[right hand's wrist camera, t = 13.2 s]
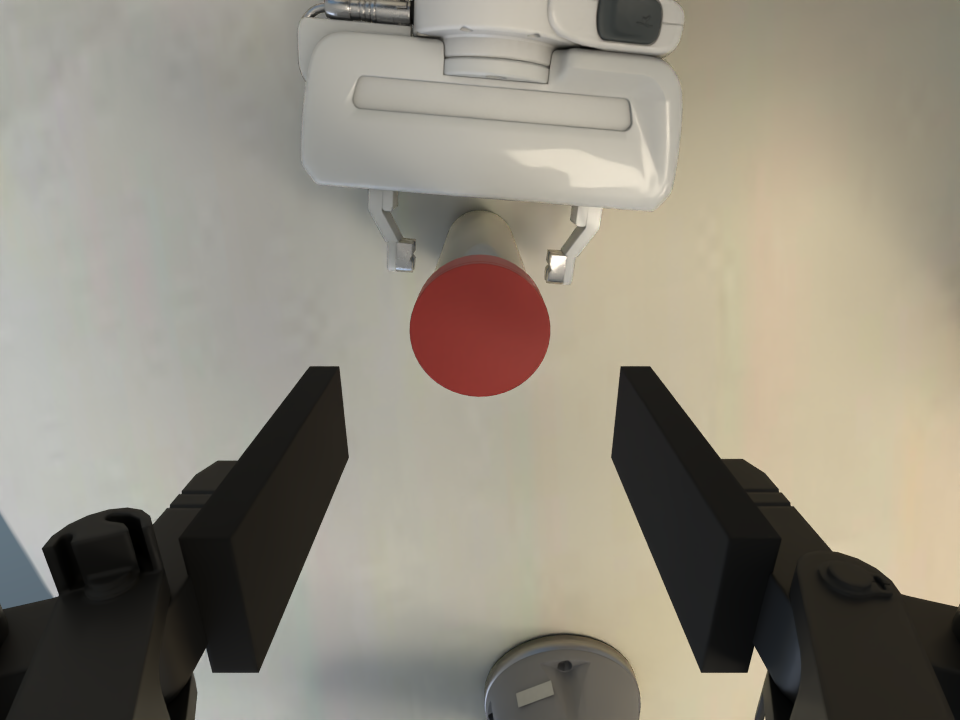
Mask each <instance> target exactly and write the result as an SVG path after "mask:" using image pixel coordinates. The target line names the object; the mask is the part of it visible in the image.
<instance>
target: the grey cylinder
mask: <svg viewBox="0 0 960 720" xmlns="http://www.w3.org/2000/svg"><path fill="white" fill-rule="evenodd" d="M469 255H491V256H496V257H500V258H503V259H505V260H508V261H510V262H512V263H514V264H515V265H517V266H518V267H520V268H521V269H522V270H524V271H525V268H524V265H523V262H522V260H521V257H520V254H519V251H518V248H517V246H516V243H515V240H514V237H513V234H512V232H511V230H510V228H509V226H508V224H507V223H506V222H505V221H504V220H503V219H502V218H501V217H500V216H498V215H497V214H495V213H492V212H490V211H486V210H475V211H470V212H467V213H465V214H463V215H462V216H460V217H459V218H458V219H457V220H456V221H455V222H454V223H453V224H452V226H451V228H450V230H449V232H448V235H447V237H446V240H445V243H444V246H443V249H442V251H441V254H440V257H439V260H438V262H437V265H436V268H435V271H437V270H438V269H439V268H440V267H442V266H443V265H445V264H446V263H448V262H450V261H452V260H455V259H457V258H461V257H464V256H469ZM435 271H434V272H435ZM525 272H526V271H525Z"/></svg>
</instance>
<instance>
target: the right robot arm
mask: <svg viewBox="0 0 960 720" xmlns="http://www.w3.org/2000/svg"><path fill="white" fill-rule="evenodd" d="M348 458H349V455H348V446H347V436H346V427H345V417H344V407H343V398H342V388H341V379H340V369H339V366H310V367H309V368H308V370H307V371H306V372H305V373H304V375H303V376H302V377H301V379H300V380H299V381H298V383H297V384H296V385H295V387H294V388H293V389H292V390H291V392H290V393H289V394H288V396H287V397H286V398H285V400H284V401H283V402H282V404H281V405H280V406H279V407H278V409H277V410H276V411H275V413H274V414H273V415H272V417H271V418H270V419H269V421H268V422H267V423H266V424H265V426H264V427H263V428H262V430H261V431H260V432H259V434H258V435H257V436H256V438H255V439H254V440H253V441H252V443H251V444H250V445H249V447H248V448H247V449H246V451H245V452H244V453H243V455H242V456H241V457H240V458H239V460H238V461H217V462H215V463H213V464H212V465H210V466H209V467H207V468H206V469H204V470H202V471H201V472H199V473H198V474H196V475H195V476H194V477H193V479H192V480H191V481H190V482H189V483H188V484H187V486H186V487H185V488H184V489H183V490H182V494H179V495H178V496H177V497H176V498H175V500H174V501H173V502H172V503H171V504H170V508H167V509H166V510H165V511H164V512H163V514H162V515H161V516H160V517H159V518H158V519H157V520H156V522H155V523H154V524H153V525H152V521H151V517H150V516H149V515H148V514H147V513H145V512H144V511H142V510H139V509H133V508H119V509H109V510H105V511H102V512H98V513H95V514H91V515H88V516H86V517H84V518H82V519H79V520H77V521H75V522H73V523H71V524H69V525H67V526H66V527H64V528H63V529H62V530H60V531H59V532H57V533H56V534H54V535H53V536H52V537H51V538H50V539H49V540H48V542H47V543H46V544H45V545H44V547H43V548H42V550H43V553H44V556H45V558H46V561H47V564H48V566H49V569H50V572H51V574H52V577H53V580H54V582H55V585H56V588H57V590H58V593H59V596H58V597H55V598H52V599H47V600H43V601H38V602H34V603H29V604H25V605H21V606H16V607H12V608H7V609H2V607H1V605H0V720H195V711H196V701H197V688H196V682H195V678H194V674H193V671H194V669H195V667H196V665H197V663H198V662H199V660H200V658H201V656H202V654H203V652H204V651H205V649H207V653H208V657H209V661H210V665H211V669H212V673H259V671H260V668H261V666H262V664H263V661H264V659H265V656H266V654H267V652H268V649H269V647H270V644H271V642H272V640H273V637H274V635H275V632H276V630H277V628H278V625H279V623H280V621H281V618H282V616H283V613H284V611H285V609H286V606H287V604H288V601H289V599H290V597H291V594H292V592H293V589H294V587H295V585H296V582H297V580H298V578H299V575H300V573H301V570H302V568H303V566H304V563H305V561H306V558H307V556H308V554H309V551H310V549H311V546H312V544H313V542H314V539H315V537H316V535H317V532H318V530H319V527H320V525H321V523H322V520H323V518H324V515H325V513H326V511H327V508H328V506H329V503H330V501H331V499H332V496H333V494H334V492H335V489H336V487H337V484H338V482H339V480H340V477H341V475H342V472H343V470H344V468H345V465H346V463H347V460H348ZM611 458H612V460H613V463H614V465H615V468H616V470H617V472H618V475H619V477H620V480H621V482H622V484H623V487H624V489H625V492H626V494H627V496H628V499H629V501H630V503H631V506H632V508H633V511H634V513H635V515H636V518H637V520H638V523H639V525H640V527H641V530H642V532H643V535H644V537H645V539H646V542H647V544H648V546H649V549H650V551H651V554H652V556H653V558H654V561H655V563H656V566H657V568H658V570H659V573H660V575H661V578H662V580H663V582H664V585H665V587H666V589H667V592H668V594H669V597H670V599H671V601H672V604H673V606H674V609H675V611H676V613H677V616H678V618H679V621H680V623H681V625H682V628H683V630H684V632H685V635H686V637H687V640H688V642H689V644H690V647H691V649H692V652H693V654H694V656H695V659H696V661H697V664H698V666H699V668H700V671H701V673H748V669H749V665H750V661H751V657H752V653H753V649H754V646H755V648H756V650H757V651H758V653H759V655H760V657H761V659H762V661H763V662H764V664H765V666H766V668H767V674H766V678H765V681H764V685H763V689H762V692H761V696H760V700H759V703H758V707H757V711H756V715H755V720H764V717H765V719H766V720H960V605H959V607H955V606H950V605H946V604H941V603H937V602H932V601H928V600H923V599H919V598H914V597H910V596H906V595H903V594H901V593H900V592H899V591H898V589H897V588H896V586H895V585H894V583H893V582H892V581H891V580H890V579H889V578H888V577H886V576H885V575H884V574H883V573H881V572H880V571H879V570H878V569H876V568H875V567H873V566H871V565H869V564H867V563H865V562H863V561H861V560H859V559H857V558H854V557H851V556H848V555H845V554H842V553H839V552H833V551H832V550H831V549H830V548H829V547H828V546H827V545H826V543H825V542H824V541H823V540H822V539H821V538H820V536H819V535H818V534H817V533H816V532H815V531H814V530H813V528H812V527H811V526H810V525H809V524H808V523H807V521H806V520H805V519H804V518H803V517H802V516H801V514H800V513H799V512H798V511H797V510H796V509H795V508H794V506H791V505H790V502H789V501H788V499H787V498H786V497H785V496H784V495H783V494H782V493H779V489H778V488H777V487H776V486H775V484H774V483H773V482H772V481H771V480H770V479H769V477H768V476H767V475H766V474H765V473H764V472H762V471H761V470H759V469H758V468H756V467H754V466H753V465H751V464H750V463H748V462H747V461H745V460H743V459H721V458H720V457H719V456H718V455H717V453H716V452H715V451H714V449H713V448H712V447H711V445H710V444H709V443H708V441H707V440H706V439H705V438H704V436H703V435H702V434H701V432H700V431H699V430H698V428H697V427H696V426H695V424H694V423H693V422H692V421H691V419H690V418H689V417H688V415H687V414H686V413H685V411H684V410H683V409H682V407H681V406H680V405H679V404H678V402H677V401H676V400H675V398H674V397H673V396H672V394H671V393H670V392H669V390H668V389H667V388H666V387H665V385H664V384H663V383H662V381H661V380H660V379H659V377H658V376H657V375H656V373H655V372H654V371H653V370H652V368H651V367H650V366H621V369H620V379H619V388H618V398H617V407H616V417H615V427H614V436H613V446H612V455H611ZM640 708H641V703H640V692H639V688H638V685H637V681H636V678H635V674H634V672H633V669H632V667H631V666H630V664H629V662H628V661H627V660H626V659H625V658H624V657H623V656H622V655H621V654H620V653H619V652H618V651H617V650H615V649H614V648H612V647H610V646H609V645H607V644H605V643H602V642H600V641H597V640H594V639H591V638H587V637H581V636H573V635H556V636H548V637H542V638H538V639H534V640H531V641H528V642H526V643H523V644H521V645H519V646H517V647H515V648H514V649H512V650H510V651H509V652H507V653H506V654H505V655H504V656H502V657H501V658H500V659H499V660H498V661H497V662H496V664H495V665H494V666H493V668H492V669H491V671H490V673H489V675H488V677H487V680H486V684H485V712H486V716H487V720H639V714H640Z"/></svg>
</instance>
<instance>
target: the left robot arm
mask: <svg viewBox="0 0 960 720" xmlns="http://www.w3.org/2000/svg"><path fill="white" fill-rule="evenodd" d="M323 12H325V14H326V17H327V18H330V19H324V18H314V17H315V16H316V15H318V14H320V13H323ZM684 19H685V17H684V11H683V8H682V7H681V6H680V5H679V4H678V3H677V2H676V1H674V0H413V1H407V0H324V3H320V4H316V5H314V6H313V7H311V8H310V9H309V10H308V11H307V12H306V13H305V14H304V15H303V17H302V18H301V20H300V22H299V26H298V32H297V40H298V63H299V68H300V72H301V74H302V77H303V79H304V80H305V82H306V85H305V93H304V102H303V113H302V130H301V161H302V165H303V167H304V169H305V170H306V172H307V173H308V174H309V176H310V177H311V178H312V179H313V181H314V182H315V183H316V184H319V185H327V186H340V187H352V188H364V189H368V211H369V212H370V214H371V216H372V218H373V220H374V221H375V223H376V225H377V227H378V229H379V231H380V232H381V234H382V236H383V238H384V240H385V241H387V242H388V251H387V268H388V271H394V272H396V271H397V272H413V270H414V269H415V258H416V257H415V256H414V252H415V250H416V239H410V238H403V236H402V234H401V232H400V230H399V228H398V226H397V224H396V222H395V220H394V218H393V216H392V214H391V212H390V211H392V210H393V209H395V208H396V207H397V206H398V191H401V192H413V193H426V194H438V195H450V196H463V197H475V198H487V199H499V200H512V201H524V202H536V203H548V204H561V205H572V209H571V217H570V220H571V221H572V222H573V223H574V224H575V225H576V226H577V227H576V229H575V230H574V231H573V233H572V234H571V236H570V237H569V238H568V240H567V241H566V243H565V244H564V245H563V247H562V248H561V250H547V257H546V261H547V263H548V265H547V266H546V267H545V275H544V278H545V280H546V283H552V284H564V285H571V282H572V278H573V271H574V265H575V258H576V256H579V254H580V253H581V252H582V250H583V249H584V248H585V247H586V245H587V244H588V243H589V242H590V240H591V239H592V238H593V236H594V235H595V234H596V233H597V231H598V230H599V228H600V222H601V216H602V209H603V208H610V209H622V210H634V211H647V212H652V211H655V210H656V209H657V208H658V207H659V206H660V205H661V204H662V203H663V202H664V201H665V200H666V199H667V198H668V197H669V196H670V194H671V192H672V189H673V184H674V180H675V175H676V169H677V162H678V156H679V147H680V138H681V128H682V111H683V96H682V88H681V84H680V80H679V78H678V75H677V74H676V72H675V70H674V69H673V68H672V67H671V66H670V65H669V64H668V63H667V62H665V61H664V60H662V58H664V57H665V56H667V55H668V54H670V53H671V52H672V51H673V50H674V49H675V48H676V47H677V45H678V44H679V41H680V39H681V36H682V32H683V26H684ZM353 20H354V21H353ZM361 20H362V21H367V22H358V21H361ZM369 22H372V23H369ZM412 24H413V30H412ZM412 32H413V36H414V37H412Z"/></svg>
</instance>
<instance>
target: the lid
mask: <svg viewBox="0 0 960 720" xmlns="http://www.w3.org/2000/svg"><path fill="white" fill-rule="evenodd" d="M549 339H550V321H549V315H548V312H547V308H546V306H545V303H544V301H543V298H542V296H541V294H540V291H539V289H538V287H537V286H536V284H535V283H534V281H533V280H532V279H531V278H530V276H529V275H528V274H527V273H526V272H525V271H524V270H522V269H521V268H520V267H518V266H517V265H515V264H514V263H512V262H510V261H508V260H505V259H503V258H500V257H496V256H491V255H469V256H464V257H461V258H457V259H455V260H452V261H450V262H448V263H446V264H445V265H443V266H442V267H440V268H439V269H438V270H437V271H435V272H434V273H433V274H432V275H431V276H430V278H429V279H428V280H427V281H426V283H425V284H424V286H423V287H422V289H421V291H420V293H419V296H418V298H417V301H416V303H415V306H414V309H413V312H412V315H411V320H410V340H411V344H412V349H413V351H414V354H415V356H416V358H417V360H418V362H419V364H420V365H421V367H422V368H423V369H424V371H425V372H426V373H427V374H428V375H429V376H430V377H431V378H432V379H433V380H434V381H436V382H437V383H438V384H440V385H441V386H443V387H445V388H447V389H449V390H451V391H453V392H456V393H459V394H463V395H468V396H477V397H481V396H492V395H497V394H501V393H504V392H507V391H509V390H511V389H513V388H515V387H517V386H519V385H520V384H522V383H523V382H524V381H526V380H527V379H528V378H529V377H530V376H531V375H532V374H533V373H534V372H535V371H536V369H537V368H538V367H539V365H540V364H541V362H542V360H543V358H544V356H545V354H546V352H547V348H548V345H549Z"/></svg>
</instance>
